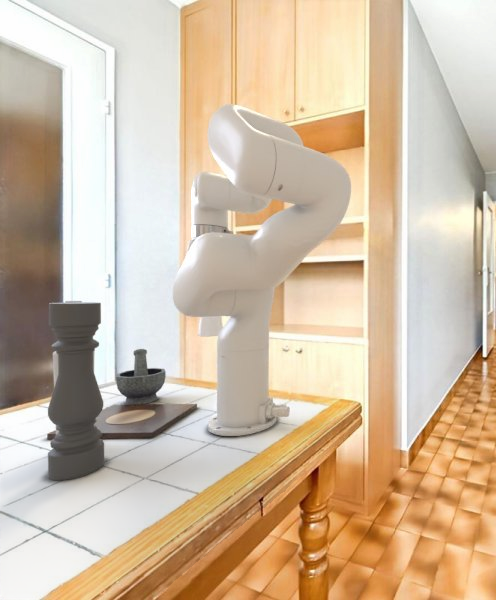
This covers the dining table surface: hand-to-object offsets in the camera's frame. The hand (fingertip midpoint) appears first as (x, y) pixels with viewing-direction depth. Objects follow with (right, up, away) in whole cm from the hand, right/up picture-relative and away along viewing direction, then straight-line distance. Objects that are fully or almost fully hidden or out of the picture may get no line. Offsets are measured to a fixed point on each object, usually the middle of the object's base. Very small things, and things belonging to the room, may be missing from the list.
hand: (210, 311), depth 83 cm
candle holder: (-3, -23, -31) cm, 39 cm away
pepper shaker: (0, -6, 0) cm, 6 cm away
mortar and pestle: (-17, -22, +1) cm, 28 cm away
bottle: (-10, -23, -24) cm, 35 cm away
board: (-9, -22, -12) cm, 27 cm away
